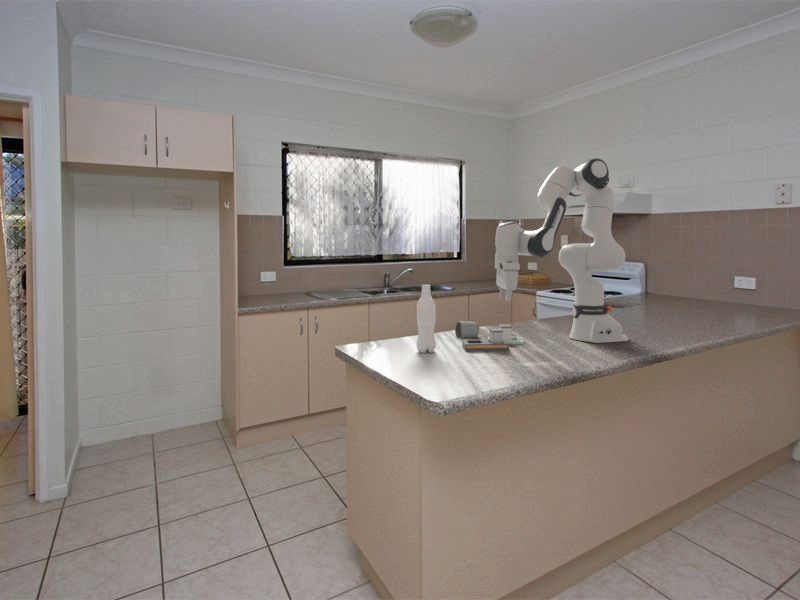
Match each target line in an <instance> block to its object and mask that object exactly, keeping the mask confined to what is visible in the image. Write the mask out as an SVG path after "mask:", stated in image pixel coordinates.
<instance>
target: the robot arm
mask: <svg viewBox="0 0 800 600" xmlns="http://www.w3.org/2000/svg"><path fill="white" fill-rule="evenodd" d="M609 175H610V173H609V167H608V164H607V163H606V162H605V161H604V160H603V159H601V158H591V159H588V160H586V161H585V162H583V163H581V164H580V165H578V166H577V167H575V169H572V168H571V167H569V166H566V165H560V166H559V165H558V166H556V167H555V168H554V169H553V170H552V171H551V172H550V174H549V175H548V176H547V178H545V180H544V182H543V183H542V185H541V186H540V188H539V190H538V193H537V195H536V201H537V204H538V206H540V207H541V209H543V211H545V212H547V214H546V218H545V220H544V222H543V224H542V226H541V227H540V228H538V229H536V230H526V229H524V228H522V227H521V226H520V225H518V222H517V221H506V222H505V221H504V222H501V223H499V224H498V226H497V227H496V229H495V230H496V231H495V240H494V241H495V242H494V243H495V253H494V269H496V278H495V279H496V280H495V285H496V286H497V287H498V289H499V298H501V299H505V301H506V302H511V301H512V296H513V291H516V290H517V287H518V281H519V271H520V269H521V264H520V263H519V256H532V257H536V258H544V257H547V256H548V255H549V254H550V253H552V250H553V248H554V246H555V240H556V238H557V234H558V232H559V229H560V226H561V224H562V222H563V220H564V218H565V217H564V216H565V213H566V211H567V202H566V201H567V198H568V196H569V197H580V196H583V195H584V198H585V205H584V208H583V214H582V215H583V216H582V220H581V221H582V222H581V229H582V232H583V233H585V235H587V236H588V237H591V238H593V242H591V243H590V242H588V243H587V242H585V243H583V242H581V243H580V242H579V243H578V242H577V243H576V242H575V243H568V244H565V245H563V246H562V247H561V248H560V250H559V253H558V262H559V265H561V267H562V268H563V269H564V270H566V272H568V274H569V275H570V277H571V279H572V282H573V286H574V303H573V306H572V307H573V308H572V316H573V318H572V326H571V330H570V334H569V338H570V339H572V340H575V341H582V342H589V343H595V344H602V343H603V344H605V343H616V342H617V343H618V342H629V337H628V336H627V335H625V334H623V327H622V325H621V323H620V322H618V320H616V319H614V317H612V316H611V315H610V314H609V313H608V312H611V313H612V311H613V307H612V306H609V305H608V306H607V305H606V304H605V303H604V301H605V299H604V298H605V287H604V285H603V283H601V281H599V280H597V279H596V278H594V277H593V276H592V274H591V271H594V272H595V271H596V272H597V271H599V272H609V271H617V270H619V269H621V268H622V267H623V266H624V264H625V263H626V259H627V258H626V252H625V250H624V248H623V247H622V245H620V244H619V243H617V241H616V239H615V238H614V237H613V234H612V233H613V232H612V220H613V212H614V206H615V205H614V203H615V201H614V199H615V198H614V196H615V195H614V191H613V189H612V188H611V187H609V186H608V184H609V182H610V177H609Z"/></svg>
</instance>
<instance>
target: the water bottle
mask: <svg viewBox="0 0 800 600" xmlns="http://www.w3.org/2000/svg"><path fill="white" fill-rule="evenodd" d="M431 291H432V289H431V285H430V284H422V285H421V290H420V292H421V294H420V297H419V299H418V302H417V303H416V307H415V308H416V325H417V330H418V334H417V341H416V348H417V351H418V352H419V353H422V354H426V352H428V353H429V354H432V353H433V352H434V351H435V349H436V347H437V343H436V338H435V325H436V322H437V321H436V318H437V316H436V314H437V313H436V312H437V311H436V309H437V306H436V303H435V301H434V299H433V297H432V295H431V294H432V293H431Z"/></svg>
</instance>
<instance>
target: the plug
mask: <svg viewBox="0 0 800 600" xmlns="http://www.w3.org/2000/svg"><path fill="white" fill-rule="evenodd" d="M512 328H513V326H512V325H511V324H499V325H498V329H502V330H503V339H505V340H506V341H507V342H512V340H513V339H512V336H513V335H512V334H513V332H512V331H513V329H512Z"/></svg>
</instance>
